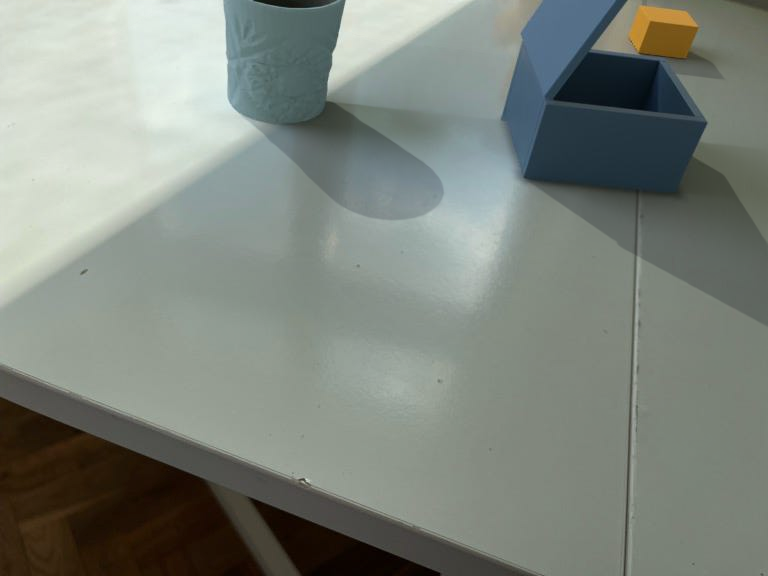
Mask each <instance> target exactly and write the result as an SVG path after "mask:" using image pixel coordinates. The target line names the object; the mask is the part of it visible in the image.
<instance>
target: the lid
mask: <svg viewBox="0 0 768 576" xmlns="http://www.w3.org/2000/svg"><path fill="white" fill-rule="evenodd" d="M628 1H629V0H542V1H541V2H540V4H539V5H538V7H537V8H536V10H534V13H533V14H532V15H531V17H530V18H529V20H528V21H527V23H526V24H525V25H524V27H523V28H522V30H521V31H520V33H519V34H520V36H521V39H522V41H523V42H524V45H525V47H526V50H527V53H528V55H529V58H530V60H531V63H532V66H533V68H534V71H535V74H536V76H537V79H538V82H539V84H540V87H541V89H542V92H543V95H544V97H546V98H548V99H550V100H552V99H553V98H554V97H555V96H556V94H557V93H558V92H559V90H560V89H561V88H562V86H563V85H564V84H565V82H566V81H567V80H568V78H569V77H570V76H571V74H572V73H573V72H574V71H575V69H576V68H577V67H578V65H579V64H580V63H581V61H582V60H583V59H584V57H585V56H586V55H587V53H588V52H589V51H590V49H593V47H594V46H595V44H596V43H597V41H598V40H599V39H600V38H601V36H602V35H603V34H604V32H605V31H606V30H607V28H608V27H609V26H610V25H611V23H612V22H613V21H614V19H615V18H616V16H617V15H618V14H619V13H620V11H621V10H622V9H623V7H624V6H625V5H626V4H627V2H628Z"/></svg>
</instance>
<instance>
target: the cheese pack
mask: <svg viewBox="0 0 768 576" xmlns="http://www.w3.org/2000/svg"><path fill="white" fill-rule="evenodd" d="M699 29H700V26H699V25H698V24H697V23H696V21H695V20H694V19H693V18H692V16H691V15H690V13H689V12H688V11H687V10H678V9H670V8H663V7H657V6H656V7H655V6H647V5H639V6H638V8H637V11H636V14H635V17H634V20H633V22H632V25H631V29H630V30H629V34H628V36H629V37H628V39H629V38H630V39H629V41H630V40H631V41H632V42H631V41H630V42H631V44H632V43H633V44H632V45H633V47H634V46H635V47H634V49H635V48H636V49H637V50H636V49H635V50H636V52H637V51H638V52H637V53H638V54H641V55H651V56H657V57H666V58H667V57H668V58H677V59H683V60H684V59H685V60H686V59H687V56H688V54H689V52H690V50H691V47H692V46H693V42H694V40H695V37H696V35H697V33H698V31H699Z"/></svg>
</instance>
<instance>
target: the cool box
mask: <svg viewBox="0 0 768 576" xmlns="http://www.w3.org/2000/svg"><path fill="white" fill-rule="evenodd" d="M500 121H502V122H506V124H507V127H508V131H509V134H510V137H511V141H512V145H513V148H514V151H515V154H516V158H517V161H518V164H519V168H520V171H521V175H522V178H523V179H526V180H527V179H528V180H537V181H538V180H539V181H549V182H559V183H567V184H577V185H586V186H587V185H588V186H596V187H597V186H598V187H606V188H607V187H609V188H616V189H617V188H618V189H627V190H637V191H645V192H646V191H648V192H655V193H656V192H657V193H667V194H675V193H676V191H677V189H678V187H679V185H680V184H681V181H682V179H683V177H684V174H685V172H686V170H687V168H688V166H689V164H690V161H691V160H692V157H693V155H694V153H695V151H696V149H697V147H698V144H699V142H700V140H701V139H702V136H703V134H704V132H705V130H706V128H707V125H708V123H709V122H708V120H707V119H706V117H705V116H704V115H703V112H702V111H701V110H700V108H699V107H698V105H697V104H696V102H695V100H694V99H693V98H692V96H691V95H690V93H689V92H688V90H687V88H686V87H685V85H684V84H683V82H682V81H681V79H680V78H679V77H678V75H677V74H676V72H675V70H674V69H673V68H672V66H671V64H670V63H669V62H668V60H667V59H666V58H665V57H661V56H653V55H651V56H649V55H645V54H635V53H626V52H617V51H611V50H602V49H594V48H591V49H590V51H589V52H588V53H587V55H586V56H585V57H584V59H583V60H582V61H581V63H580V64H579V65H578V67H577V68H576V69H575V71H574V72H573V73H572V74H571V76H570V77H569V78H568V80H567V81H566V82H565V84H564V85H563V86H562V88H561V89H560V90H559V92H558V93H557V94H556V96H555V97H554V98H553V99H552V100H550V99H548V98H546V97H544V95H543V92H542V89H541V87H540V84H539V82H538V79H537V76H536V74H535V71H534V68H533V66H532V63H531V60H530V58H529V55H528V53H527V50H526V47H525V45H524V42H523V40H522V41H521V44H520V47H519V51H518V54H517V58H516V62H515V65H514V70H513V73H512V77H511V80H510V84H509V87H508V92H507V95H506V99H505V103H504V106H503V110H502V114H501V118H500Z"/></svg>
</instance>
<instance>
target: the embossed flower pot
mask: <svg viewBox="0 0 768 576" xmlns="http://www.w3.org/2000/svg"><path fill="white" fill-rule="evenodd" d="M346 1H347V0H222V2H223V13H224V21H225V56H226V60H227V61H226V62H227V63H226V71H227V81H226V82H227V84H226V85H227V87H226V88H227V89H226V91H227V92H226V93H227V95H226V96H227V101H228V103H229V104H230V106H231V107H232V108H233V109H234V110H235V111H236V112H238V113H239V114H240V115H242V116H245V117H247V118H249V119H252V120H254V121H259V122H262V123H268V124H278V125H287V124H291V125H292V124H298V123H303V122H305V121H306V122H307V121H310V120H312V119H315V118H316V117H317V116H319V115H320V114H321V113H322V112H323V110H324V109H325V105H326V101H327V96H328V91H329V89H328V88H329V87H328V85H329V84H328V83H329V82H328V81H329V78H330V73H331V70H332V67H333V54H334V52H335V49H336V47H337V44H338V39H339V32H340V29H341V23H342V19H343V15H344V10H345V5H346Z"/></svg>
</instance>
